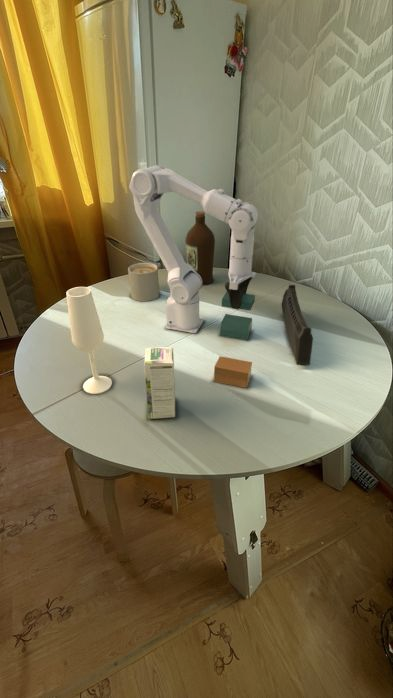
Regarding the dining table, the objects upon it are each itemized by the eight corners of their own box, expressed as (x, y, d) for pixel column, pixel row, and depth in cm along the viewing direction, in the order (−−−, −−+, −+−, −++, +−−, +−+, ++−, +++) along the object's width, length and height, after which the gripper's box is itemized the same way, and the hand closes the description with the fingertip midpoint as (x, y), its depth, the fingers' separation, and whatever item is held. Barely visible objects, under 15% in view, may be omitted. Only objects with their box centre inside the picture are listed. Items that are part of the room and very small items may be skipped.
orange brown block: (214, 374, 83) (214, 366, 82) (219, 363, 87) (219, 356, 86) (247, 380, 81) (248, 373, 80) (251, 369, 85) (252, 362, 84)
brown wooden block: (213, 381, 85) (214, 374, 83) (218, 370, 88) (219, 363, 87) (246, 388, 83) (247, 380, 81) (250, 376, 86) (251, 369, 85)
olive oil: (203, 272, 142) (203, 207, 128) (219, 281, 134) (221, 213, 120) (180, 279, 137) (178, 211, 123) (196, 288, 129) (196, 217, 115)
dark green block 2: (220, 335, 102) (220, 329, 101) (224, 326, 106) (225, 320, 105) (247, 340, 100) (248, 333, 99) (251, 331, 104) (251, 324, 103)
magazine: (317, 344, 81) (301, 264, 100) (303, 344, 82) (290, 263, 100) (302, 385, 95) (290, 307, 114) (290, 385, 95) (280, 307, 114)
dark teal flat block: (221, 306, 96) (221, 299, 95) (226, 298, 100) (226, 291, 99) (250, 310, 94) (251, 303, 93) (254, 302, 98) (255, 294, 97)
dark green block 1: (220, 329, 101) (220, 322, 99) (225, 320, 105) (225, 313, 104) (248, 333, 99) (248, 327, 97) (251, 324, 103) (252, 317, 102)
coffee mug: (159, 300, 121) (157, 272, 115) (130, 302, 120) (127, 274, 115) (159, 284, 132) (157, 258, 126) (132, 286, 131) (129, 259, 126)
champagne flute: (87, 375, 87) (67, 284, 73) (114, 375, 87) (99, 285, 73) (79, 393, 81) (55, 298, 68) (108, 394, 81) (90, 299, 68)
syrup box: (149, 401, 79) (143, 347, 71) (175, 399, 79) (173, 346, 71) (148, 419, 74) (142, 364, 66) (176, 417, 75) (173, 362, 66)
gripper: (251, 267, 82) (246, 318, 90) (261, 248, 94) (257, 294, 101) (222, 263, 84) (220, 313, 92) (236, 245, 96) (233, 291, 103)
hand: (237, 303), depth 97 cm, fingers closed on dark teal flat block, 5 cm apart
